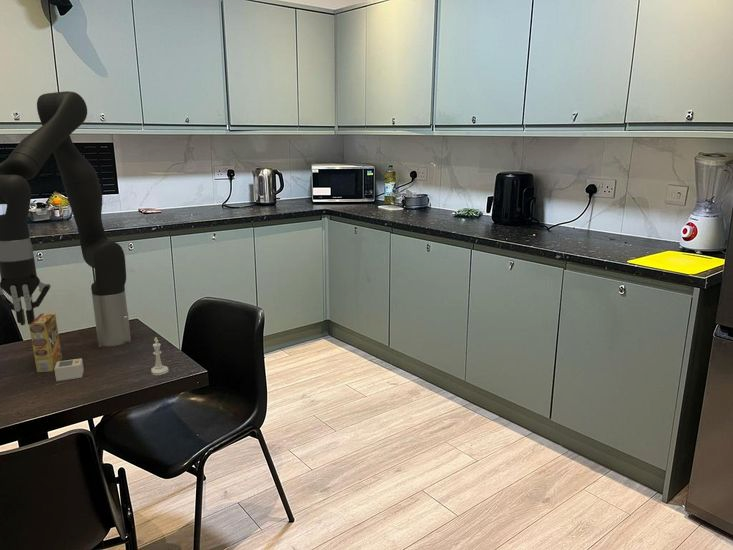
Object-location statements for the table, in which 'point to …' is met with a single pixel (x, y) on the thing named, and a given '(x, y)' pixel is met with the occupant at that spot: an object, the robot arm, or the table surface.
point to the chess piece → (158, 361)
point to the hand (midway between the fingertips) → (26, 323)
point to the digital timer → (69, 369)
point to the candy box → (45, 342)
